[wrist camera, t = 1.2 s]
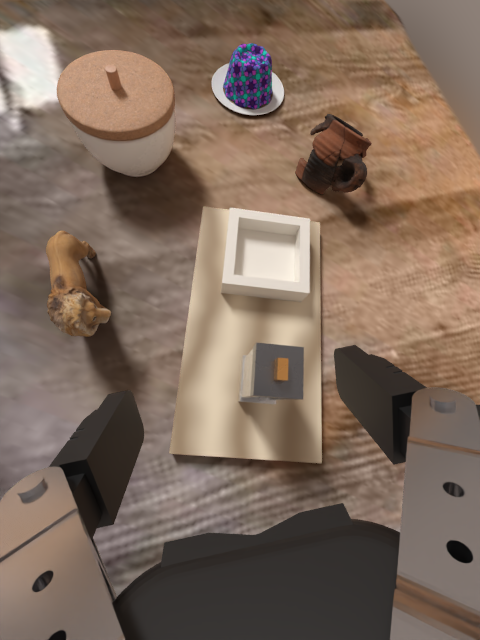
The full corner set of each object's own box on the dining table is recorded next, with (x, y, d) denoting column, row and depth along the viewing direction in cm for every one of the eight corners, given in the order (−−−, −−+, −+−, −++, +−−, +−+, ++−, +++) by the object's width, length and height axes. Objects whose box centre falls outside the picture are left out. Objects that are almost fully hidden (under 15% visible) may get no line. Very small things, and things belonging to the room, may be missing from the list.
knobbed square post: (238, 401, 30) (255, 400, 20) (241, 357, 32) (259, 334, 21) (272, 404, 31) (307, 405, 20) (274, 360, 32) (308, 339, 21)
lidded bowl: (199, 162, 41) (196, 79, 30) (128, 209, 37) (98, 133, 27) (142, 110, 42) (121, 13, 32) (70, 150, 39) (19, 56, 28)
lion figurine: (132, 338, 33) (106, 315, 24) (86, 358, 31) (41, 341, 23) (90, 236, 36) (53, 184, 27) (46, 251, 34) (-7, 201, 26)
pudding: (252, 57, 49) (257, 18, 44) (297, 102, 47) (308, 66, 42) (196, 82, 46) (195, 42, 41) (242, 130, 44) (247, 95, 39)
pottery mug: (280, 162, 43) (311, 101, 38) (318, 174, 49) (350, 123, 43) (323, 208, 38) (367, 145, 32) (361, 216, 43) (404, 164, 38)
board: (171, 451, 30) (169, 453, 28) (203, 213, 38) (203, 206, 37) (316, 460, 31) (321, 463, 30) (315, 229, 40) (319, 222, 38)
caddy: (220, 293, 34) (222, 282, 31) (228, 222, 37) (229, 207, 34) (301, 302, 35) (309, 293, 32) (301, 232, 37) (309, 218, 35)
